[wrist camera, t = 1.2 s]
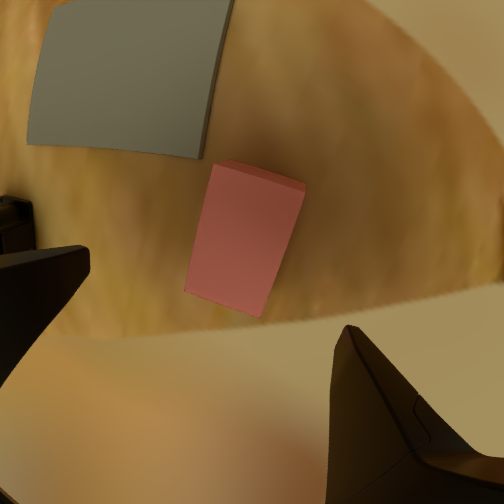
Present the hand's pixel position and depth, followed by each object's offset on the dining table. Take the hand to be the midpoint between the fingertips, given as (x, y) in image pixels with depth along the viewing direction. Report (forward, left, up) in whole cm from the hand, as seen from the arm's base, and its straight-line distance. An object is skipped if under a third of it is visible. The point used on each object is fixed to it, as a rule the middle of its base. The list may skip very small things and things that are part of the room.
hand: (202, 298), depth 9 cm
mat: (-13, +10, -11) cm, 20 cm away
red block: (0, -1, -11) cm, 11 cm away
